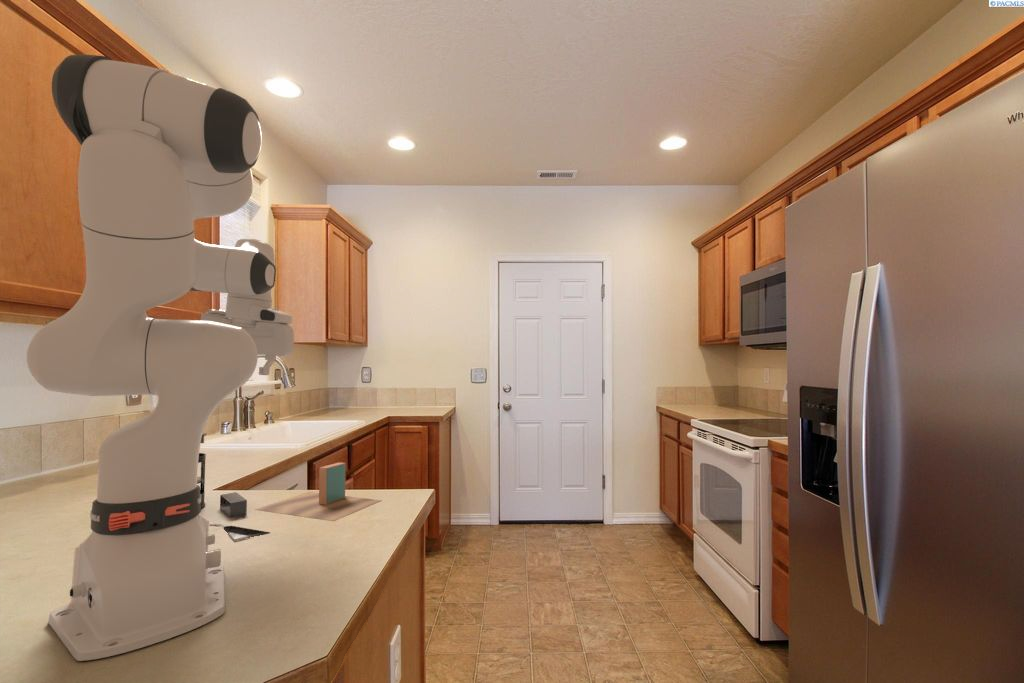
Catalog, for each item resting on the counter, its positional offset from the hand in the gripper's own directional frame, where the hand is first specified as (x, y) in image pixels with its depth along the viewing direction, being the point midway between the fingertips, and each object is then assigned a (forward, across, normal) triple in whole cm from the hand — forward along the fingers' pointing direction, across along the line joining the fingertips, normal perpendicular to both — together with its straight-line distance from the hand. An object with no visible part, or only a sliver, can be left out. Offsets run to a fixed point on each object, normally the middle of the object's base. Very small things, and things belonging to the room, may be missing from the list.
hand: (242, 373), depth 101 cm
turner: (+30, +7, -9) cm, 32 cm away
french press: (+33, -13, +3) cm, 35 cm away
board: (+29, +21, -2) cm, 36 cm away
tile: (+28, +22, +2) cm, 35 cm away
